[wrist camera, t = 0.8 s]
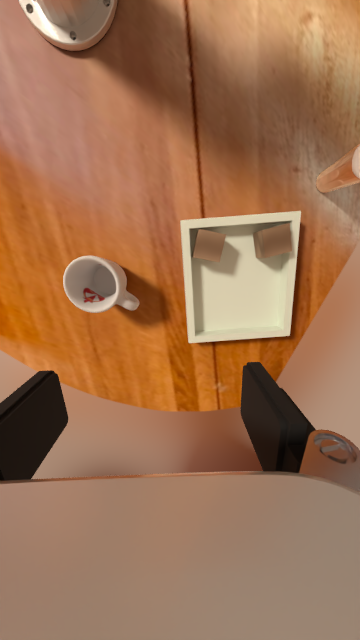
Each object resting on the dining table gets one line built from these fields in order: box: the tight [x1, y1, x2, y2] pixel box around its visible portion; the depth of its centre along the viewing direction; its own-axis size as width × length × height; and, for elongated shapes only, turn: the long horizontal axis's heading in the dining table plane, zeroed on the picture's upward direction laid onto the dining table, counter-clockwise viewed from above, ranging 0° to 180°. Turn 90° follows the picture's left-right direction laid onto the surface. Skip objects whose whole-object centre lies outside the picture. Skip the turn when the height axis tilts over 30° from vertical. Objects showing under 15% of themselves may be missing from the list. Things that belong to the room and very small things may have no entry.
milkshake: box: [316, 144, 360, 193], centre depth 28 cm, size 5×5×10 cm
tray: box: [180, 211, 301, 343], centre depth 35 cm, size 20×18×3 cm
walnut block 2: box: [253, 223, 292, 258], centre depth 32 cm, size 4×4×4 cm
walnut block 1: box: [192, 229, 226, 262], centre depth 32 cm, size 4×4×4 cm
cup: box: [63, 256, 139, 313], centre depth 33 cm, size 11×8×8 cm
